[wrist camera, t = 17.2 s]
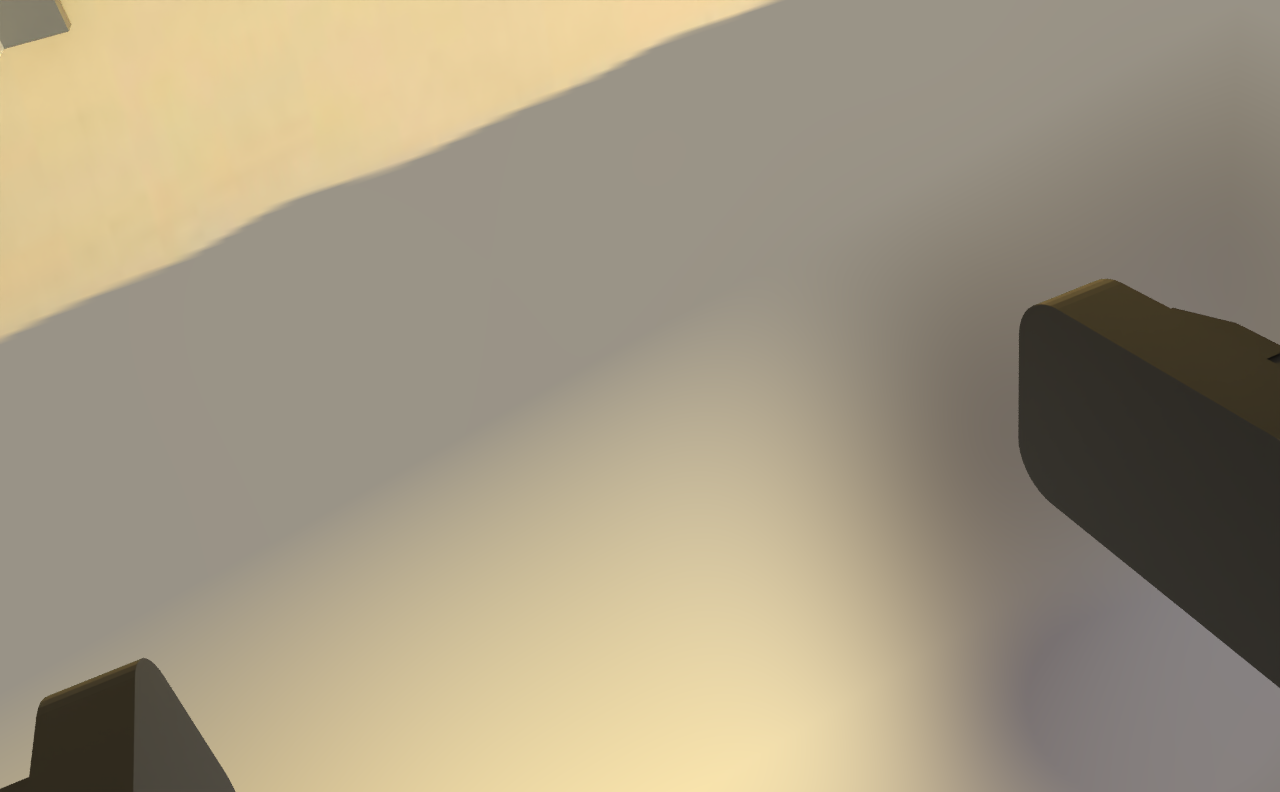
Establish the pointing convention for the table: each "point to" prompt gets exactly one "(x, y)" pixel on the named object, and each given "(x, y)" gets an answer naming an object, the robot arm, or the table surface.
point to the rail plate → (30, 21)
